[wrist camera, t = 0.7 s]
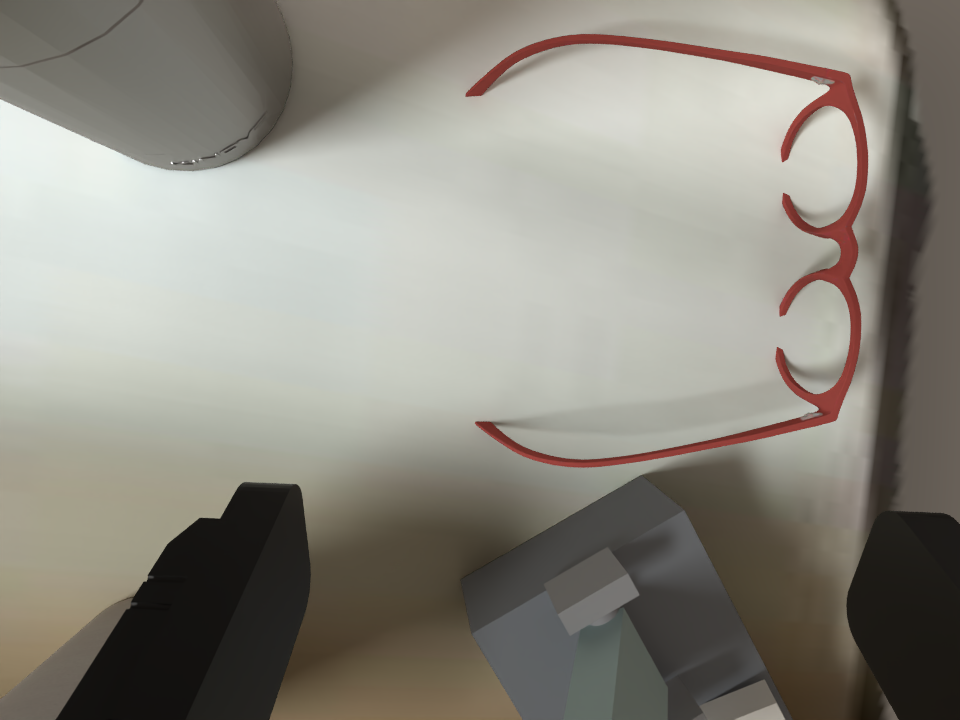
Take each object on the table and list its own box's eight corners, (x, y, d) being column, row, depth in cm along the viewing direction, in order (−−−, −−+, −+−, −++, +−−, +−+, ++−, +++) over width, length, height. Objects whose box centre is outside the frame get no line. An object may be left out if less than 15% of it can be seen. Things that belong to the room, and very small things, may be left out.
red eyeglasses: (793, 431, 34) (861, 457, 29) (474, 449, 32) (488, 480, 27) (804, 68, 32) (879, 29, 27) (463, 65, 30) (476, 23, 25)
